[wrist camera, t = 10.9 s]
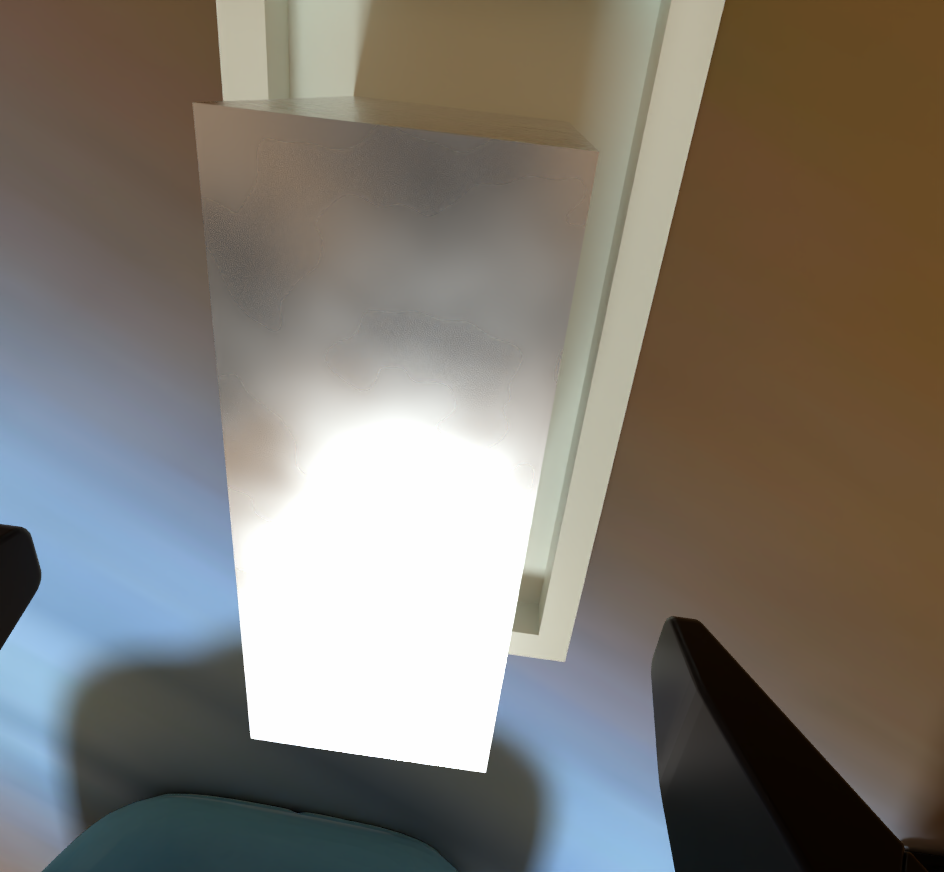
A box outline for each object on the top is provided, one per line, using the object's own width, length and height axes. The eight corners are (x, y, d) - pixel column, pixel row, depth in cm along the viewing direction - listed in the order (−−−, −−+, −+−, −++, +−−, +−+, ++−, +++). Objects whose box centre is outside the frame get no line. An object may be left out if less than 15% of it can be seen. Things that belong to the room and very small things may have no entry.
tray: (562, 613, 23) (564, 662, 21) (283, 574, 23) (260, 619, 21) (713, -49, 14) (742, -71, 12) (251, -100, 14) (206, -130, 12)
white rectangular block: (568, 121, 15) (599, 152, 8) (502, 538, 21) (485, 772, 14) (353, 96, 15) (192, 102, 8) (347, 517, 21) (250, 738, 14)
